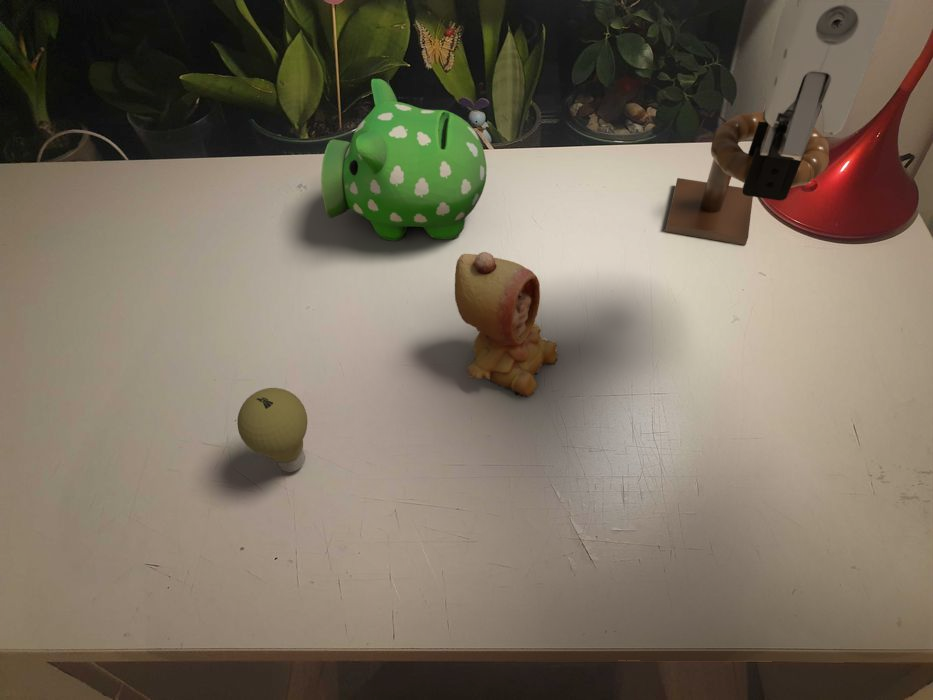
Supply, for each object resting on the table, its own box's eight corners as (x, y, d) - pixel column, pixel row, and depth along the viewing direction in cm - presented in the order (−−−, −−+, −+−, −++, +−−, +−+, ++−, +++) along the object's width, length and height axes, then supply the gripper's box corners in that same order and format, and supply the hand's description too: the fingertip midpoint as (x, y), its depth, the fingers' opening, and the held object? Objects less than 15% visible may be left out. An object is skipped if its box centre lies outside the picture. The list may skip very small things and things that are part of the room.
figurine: (528, 415, 62) (491, 297, 52) (462, 396, 66) (417, 283, 56) (571, 343, 67) (545, 223, 57) (508, 329, 71) (474, 215, 61)
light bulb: (333, 442, 62) (307, 378, 54) (312, 496, 58) (282, 436, 50) (278, 433, 63) (244, 369, 55) (254, 485, 59) (215, 426, 51)
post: (751, 197, 80) (774, 130, 73) (745, 245, 75) (769, 178, 68) (675, 185, 82) (690, 119, 75) (664, 231, 77) (680, 165, 70)
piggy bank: (351, 184, 86) (325, 75, 75) (489, 181, 85) (485, 70, 73) (332, 259, 77) (300, 149, 66) (487, 257, 76) (482, 144, 64)
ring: (823, 136, 55) (832, 115, 54) (823, 201, 50) (833, 180, 49) (714, 122, 57) (720, 101, 56) (703, 183, 52) (709, 162, 51)
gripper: (953, -17, 32) (815, 260, 46) (921, -128, 41) (814, 131, 56) (788, -29, 34) (704, 242, 48) (793, -133, 43) (722, 120, 57)
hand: (764, 181), depth 52 cm, fingers closed on ring, 2 cm apart
